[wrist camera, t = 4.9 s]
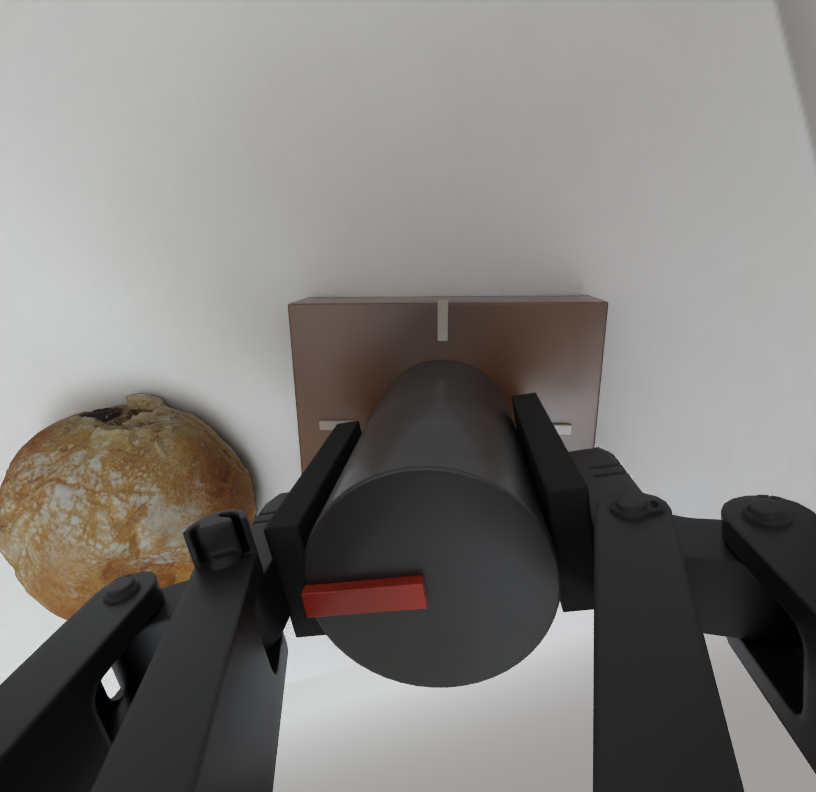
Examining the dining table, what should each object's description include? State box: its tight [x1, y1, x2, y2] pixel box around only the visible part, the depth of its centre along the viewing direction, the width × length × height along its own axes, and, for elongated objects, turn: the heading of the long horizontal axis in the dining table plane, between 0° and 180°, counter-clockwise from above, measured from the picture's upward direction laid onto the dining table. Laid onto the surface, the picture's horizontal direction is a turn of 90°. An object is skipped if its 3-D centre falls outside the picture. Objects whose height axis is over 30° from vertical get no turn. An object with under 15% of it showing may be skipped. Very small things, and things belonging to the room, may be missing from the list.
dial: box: [301, 361, 561, 687], centre depth 14 cm, size 5×5×9 cm
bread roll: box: [0, 394, 258, 620], centre depth 21 cm, size 10×10×8 cm
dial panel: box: [288, 295, 608, 474], centre depth 19 cm, size 11×9×3 cm
